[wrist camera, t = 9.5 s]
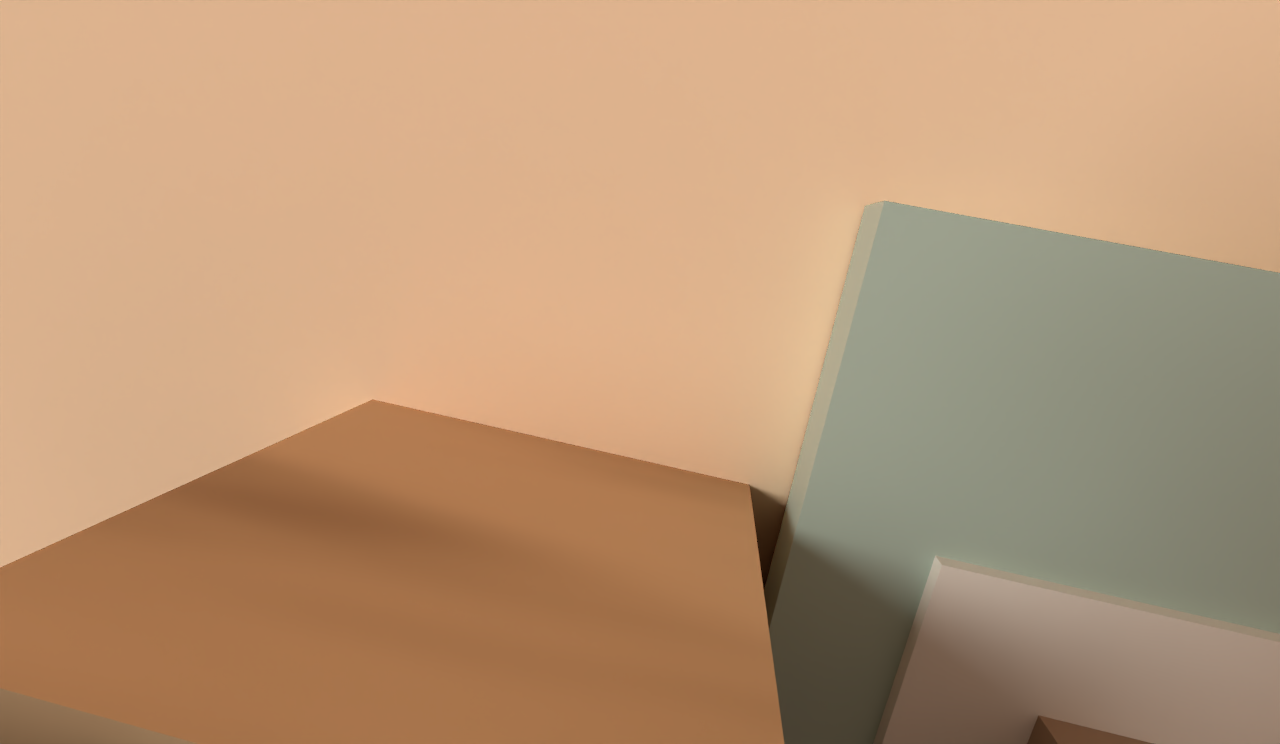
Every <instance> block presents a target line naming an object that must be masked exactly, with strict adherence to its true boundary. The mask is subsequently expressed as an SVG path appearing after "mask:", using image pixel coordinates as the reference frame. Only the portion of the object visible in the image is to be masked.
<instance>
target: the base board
mask: <svg viewBox="0 0 1280 744" xmlns="http://www.w3.org/2000/svg"><path fill="white" fill-rule="evenodd" d="M764 597H765V604H766V611H767V619H768V626H769V634H770V641H771V648H772V656H773V663H774V671H775V678H776V685H777V693H778V700H779V708H780V715H781V722H782V730H783V737H784V744H1027V743H1028V740H1029V738H1030V735H1031V733H1032V730H1033V728H1034V725H1035V723H1036V720H1037V718H1038V715H1040V716H1044V717H1048V718H1052V719H1056V720H1060V721H1064V722H1068V723H1072V724H1076V725H1080V726H1084V727H1088V728H1092V729H1096V730H1100V731H1105V732H1109V733H1113V734H1117V735H1121V736H1125V737H1129V738H1133V739H1137V740H1141V741H1145V742H1149V743H1153V744H1280V273H1277V272H1272V271H1266V270H1261V269H1255V268H1250V267H1244V266H1239V265H1233V264H1228V263H1222V262H1217V261H1211V260H1206V259H1200V258H1195V257H1189V256H1184V255H1178V254H1173V253H1168V252H1162V251H1157V250H1151V249H1146V248H1140V247H1135V246H1129V245H1124V244H1118V243H1113V242H1107V241H1102V240H1096V239H1091V238H1085V237H1080V236H1074V235H1069V234H1063V233H1058V232H1052V231H1047V230H1042V229H1036V228H1031V227H1025V226H1020V225H1014V224H1009V223H1003V222H998V221H992V220H987V219H981V218H976V217H970V216H965V215H959V214H954V213H948V212H943V211H937V210H932V209H927V208H921V207H916V206H910V205H905V204H899V203H894V202H888V201H882V202H878V203H874V204H870V205H866V206H865V208H864V212H863V216H862V219H861V223H860V227H859V231H858V235H857V238H856V242H855V246H854V250H853V254H852V257H851V261H850V265H849V269H848V273H847V276H846V280H845V284H844V288H843V292H842V295H841V299H840V303H839V307H838V311H837V315H836V318H835V322H834V326H833V330H832V334H831V337H830V341H829V345H828V349H827V353H826V356H825V360H824V364H823V368H822V372H821V375H820V379H819V383H818V387H817V391H816V394H815V398H814V402H813V406H812V410H811V413H810V417H809V421H808V425H807V429H806V433H805V436H804V440H803V444H802V448H801V452H800V455H799V459H798V463H797V467H796V471H795V474H794V478H793V482H792V486H791V490H790V493H789V497H788V501H787V505H786V509H785V512H784V516H783V520H782V524H781V528H780V532H779V535H778V539H777V543H776V547H775V551H774V554H773V558H772V562H771V566H770V570H769V573H768V577H767V581H766V585H765V589H764Z"/></svg>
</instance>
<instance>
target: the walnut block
mask: <svg viewBox="0 0 1280 744" xmlns="http://www.w3.org/2000/svg"><path fill="white" fill-rule="evenodd" d="M1027 744H1153V743H1149V742H1145V741H1141V740H1137V739H1133V738H1129V737H1125V736H1121V735H1117V734H1113V733H1109V732H1105V731H1100V730H1096V729H1092V728H1088V727H1084V726H1080V725H1076V724H1072V723H1068V722H1064V721H1060V720H1056V719H1052V718H1048V717H1044V716H1040V715H1038V718H1037V720H1036V723H1035V725H1034V728H1033V730H1032V733H1031V735H1030V738H1029V740H1028V743H1027Z"/></svg>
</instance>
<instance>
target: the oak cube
mask: <svg viewBox="0 0 1280 744" xmlns="http://www.w3.org/2000/svg"><path fill="white" fill-rule="evenodd" d="M0 744H784V737H783V730H782V722H781V715H780V708H779V700H778V693H777V685H776V678H775V671H774V663H773V656H772V648H771V641H770V634H769V626H768V619H767V611H766V604H765V597H764V589H763V582H762V574H761V567H760V560H759V552H758V545H757V537H756V530H755V523H754V515H753V508H752V500H751V493H750V486H749V485H748V484H743V483H739V482H734V481H730V480H726V479H721V478H717V477H712V476H708V475H703V474H699V473H695V472H690V471H686V470H681V469H677V468H673V467H668V466H664V465H659V464H655V463H650V462H646V461H642V460H637V459H633V458H628V457H624V456H619V455H615V454H611V453H606V452H602V451H597V450H593V449H589V448H584V447H580V446H575V445H571V444H566V443H562V442H558V441H553V440H549V439H544V438H540V437H535V436H531V435H527V434H522V433H518V432H513V431H509V430H505V429H500V428H496V427H491V426H487V425H482V424H478V423H474V422H469V421H465V420H460V419H456V418H451V417H447V416H443V415H438V414H434V413H429V412H425V411H421V410H416V409H412V408H407V407H403V406H398V405H394V404H390V403H385V402H381V401H376V400H371V401H368V402H366V403H364V404H362V405H359V406H357V407H355V408H353V409H351V410H348V411H346V412H344V413H342V414H340V415H337V416H335V417H333V418H331V419H328V420H326V421H324V422H322V423H320V424H317V425H315V426H313V427H311V428H309V429H306V430H304V431H302V432H300V433H297V434H295V435H293V436H291V437H289V438H286V439H284V440H282V441H280V442H278V443H275V444H273V445H271V446H269V447H266V448H264V449H262V450H260V451H258V452H255V453H253V454H251V455H249V456H247V457H244V458H242V459H240V460H238V461H235V462H233V463H231V464H229V465H227V466H224V467H222V468H220V469H218V470H216V471H213V472H211V473H209V474H207V475H204V476H202V477H200V478H198V479H196V480H193V481H191V482H189V483H187V484H185V485H182V486H180V487H178V488H176V489H173V490H171V491H169V492H167V493H165V494H162V495H160V496H158V497H156V498H154V499H151V500H149V501H147V502H145V503H142V504H140V505H138V506H136V507H134V508H131V509H129V510H127V511H125V512H123V513H120V514H118V515H116V516H114V517H111V518H109V519H107V520H105V521H103V522H100V523H98V524H96V525H94V526H92V527H89V528H87V529H85V530H83V531H80V532H78V533H76V534H74V535H72V536H69V537H67V538H65V539H63V540H61V541H58V542H56V543H54V544H52V545H49V546H47V547H45V548H43V549H41V550H38V551H36V552H34V553H32V554H30V555H27V556H25V557H23V558H21V559H18V560H16V561H14V562H12V563H10V564H7V565H5V566H3V567H1V568H0Z"/></svg>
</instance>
